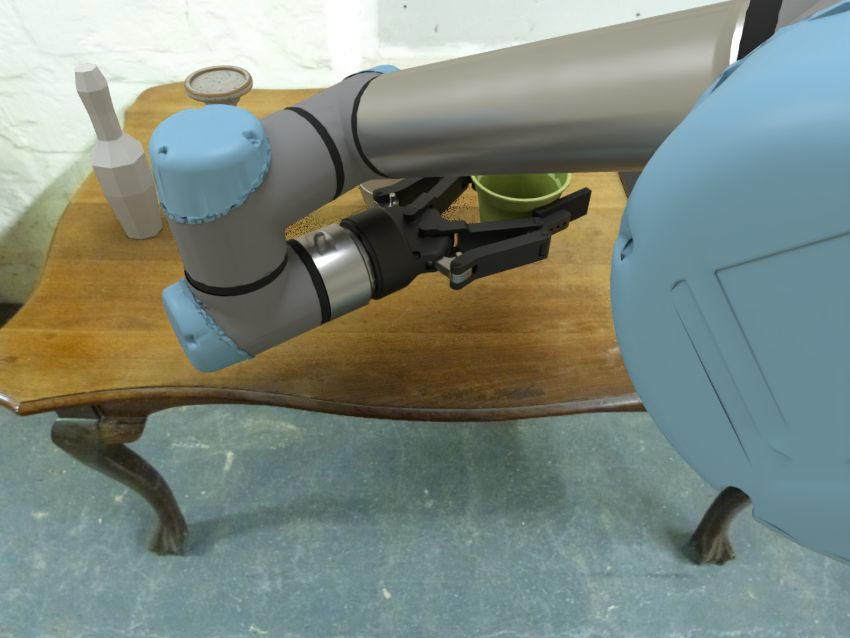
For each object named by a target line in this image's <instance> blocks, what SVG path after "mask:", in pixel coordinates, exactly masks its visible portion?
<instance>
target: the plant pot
mask: <svg viewBox="0 0 850 638" xmlns="http://www.w3.org/2000/svg"><path fill="white" fill-rule="evenodd" d="M572 174H573V173H553V174H518V175H483V176H471V179H472V181H473V182H474V184H475V188H476V191H475V192H476V193H477V200H478V201H477V202H478V212H479V223H481V222H491V221H501V220H511V219H521V218H530V217H532V215H533V210H534V209H536V208H539V207H541V206H544V205H547V204H549V203H552V202H553V201H555V200H557V199H559V198H562V194H563V193H564V192H565V191H566V190H567V189H568V187H569V186H570V184H571V181H572V176H573V175H572ZM528 232H529V231H528ZM527 234H528V233H527Z"/></svg>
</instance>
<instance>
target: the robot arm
mask: <svg viewBox="0 0 850 638" xmlns="http://www.w3.org/2000/svg"><path fill="white" fill-rule="evenodd" d="M147 147H148V152H147V153H148V157H149V158H148V159H149V162H150V171H151V174H152V177H153V180H154V184H155V190H156V194H157V200H158V202H159V205H160V208H161V210H162V212H163V213H164V216H165V219H166V221H167V223H168V227H169V229H170V231H171V234H172V237H173V240H174V243H175V245H176V248H177V251H178V253H179V256H180V259H181V262H182V264H183V271H184V272H183V274H184V277H180V279H179V280H178V281H177V282H174V283H172V284H170V285H168V286H166V287H165V288H164V289H163V291H162V293H161V301H162V303H163V307H164V311H165V314H166V316H167V318H168V321H169V323H170V325H171V328H172V330H173V332H174V334H175V337H176V338H177V340H178V342H179V344H180V346H181V348H182V350H183V352H184V354H185V356H186V357H187V359H188V361H189V362H190V364H191V365H192V366H193V367H194V368H195V370H197V371H199V372H201V373H204V374H205V373H206V374H210V373H214V372H217V371H221V370H222V369H226V368H228V367H231V366H233V365H236V364H240V363H242V362H244V361H251V360H253V359H255V357H256V356H258V355H260V354H261V353H262V354H263V353H264V352H267V351H268V350H271V349H272V348H275V347H277V346H280V345H281V344H284V343H286V342H288V341H290V340H292V339H294V338H297V337H299V336H301V335H303V334H305V333H308V332H310V331H312V330H314V329H316V328H318V327H320V326H322V325H325V324H327V323H329V322H332V321H334V320H336V319H339V318H341V317H343V316H345V315H348V314H351V313H352V312H355V311H357V310H359V309H362V308H363V307H366V306H368V305H369V304H370V303H371V300H373V301H379V300H381V299H384V298H386V297H388V296H390V295H393V294H395V293H397V292H398V291H402V290H404V289H406V288H407V287H409V286H410V285H411V283H412V282H413V281H414V280H415V279H416V278H417V277H418V276H420V275H423V274H430V273H432V274H433V273H436V272H437V273H438V272H439V273H441V274H442V275H443V276H445V277H446V278H448V279H449V288H450V289H452V290H454V291H460V290H462V289H463V288H465V287H467V286H468V285H469V284H471V283H473V282H474V281H476V280H479V279H483V278H486V277H489V276H492V275H497V274H500V273H503V272H507V271H511V270H514V269H516V268H520V267H524V266H527V265H531V264H534V263H537V262H541V261H544V260H546V259H548V258H549V254H550V249H551V242H552V236H554V235H556V234H559V233H560V232H563V231H564V230H566V229H568V227H569V226H570V223H572V222H574V221H576V220H577V219H580V218H583V217H584V216H587V215H588V211H589V207H590V201H591V198H592V193H593V190H592V189H590V188H589V187H587V186H585V187H583V188H579V189H578V190H575V191H574V192H573V191H572V192H570V193H568V194H566V195H564V196H561V197H560V198H559V199H557V200H555V201H553V202H552V203H549V204H547V205H544V206H541V207H539V208H536V209H534V210H533V215H532V217H530V218H521V219H511V220H501V221H491V222H481V223H480V222H472V223H467V222H466V220H464V219H457V220H449V219H447V218H446V217H443V216H442V215H443V214H444V213H445V212H446V211H447V210H448V209H449V208H450V207H451V206H452V205H453V204H454V203H455V202H456V201H457V200H458V199H459V198H460V197H461V196H462V195H463V194H464V192H466V191H467V190H468V189H469V187H470V184H471V187H470V188H471V189H472V190H473V191H474V192H477V191H476V188H475V184H474V182H473V181H472V179H471V176H483V175H518V174H553V173H571V174H581V173H583V174H585V173H618V172H624V171H642V173H641V175H640V176H639V178H638V180H637V182H636V184H635V186H634V188H633V190H632V192H631V194H630V196H629V198H627V200H626V205H625V207H624V210H623V212H622V215H621V218H620V224H619V231H618V235H617V237H616V239H615V242H614V244H613V249H612V255H611V263H610V276H609V295H610V308H611V316H612V322H613V327H614V333H615V338H616V342H617V345H618V348H619V352H620V355H621V358H622V361H623V364H624V366H625V369H626V371H627V374H628V376H629V379H630V381H631V384H632V387H633V388H634V390H635V392H636V394H637V396H638V398H639V400H640V402H641V403H642V405H643V407H644V409H645V410H646V412H647V414H648V415H649V416H650V418H651V420H652V421H653V423H654V424H655V426H656V427H657V429H658V430H659V432H660V433H661V434H662V435H663V437H664V438H665V440H666V441H667V442H668V444H669V445H670V446H671V447H672V449H673V450H674V451H675V452H676V453H677V454H678V455H679V457H680V458H681V459H682V460H683V461H684V462H685V463H686V464H687V465H688V467H690V469H692V471H694V472H695V474H697V475H698V476H699V477H700V478H701V479H702V480H703V481H704V482H705V483H706V484H707V485H708V486H710V487H711V488H712V489H713V490H714V491H717V492H718V491H719V492H721V491H725V490H726V489H727V488H729V487H733V488H736V489H739V490H741V491H742V492H743V493H744V494H746V495H747V496H748V497H749V500H750V502H751V503H752V509H751V516H752V519H753V520H754V521H755V522H757V523H758V524H760V525H762V526H764V527H765V528H767V529H769V530H770V531H772V532H774V533H775V534H776V535H779V536H780V537H782V538H784V539H786V540H788V541H790V542H793V543H794V544H796V545H798V546H800V547H802V548H804V549H808V550H809V551H812V552H813V553H817V554H819V555H821V556H824V557H826V558H828V559H831V560H833V561H835V562H838V563H839V564H840V563H841V564H842V565H845V566H848V567H850V0H725V1H719V2H715V3H711V4H705V5H702V6H697V7H692V8H687V9H683V10H677V11H673V12H667V13H663V14H658V15H654V16H650V17H644V18H639V19H635V20H630V21H626V22H621V23H615V24H612V25H611V24H610V25H607V26H601V27H597V28H592V29H588V30H583V31H578V32H574V33H569V34H563V35H559V36H555V37H549V38H545V39H539V40H535V41H530V42H526V43H521V44H517V45H513V46H512V45H511V46H507V47H503V48H502V47H501V48H498V49H494V50H489V51H484V52H478V53H474V54H470V55H465V56H460V57H455V58H449V59H446V60H441V61H436V62H433V63H427V64H422V65H417V66H412V67H408V68H402V69H400V68H398V67H396V66H395V65H392V64H379V65H376V66H374V67H371V68H367V69H363V70H359V71H357V72H353V73H351V74H349V75H346V77H344V78H343V79H342V80H341V81H339V82H337V83H335V84H333V85H330V86H329V87H327V88H324V89H322V90H320V91H319V92H317V93H314V94H312V95H311V96H309V97H307V98H304V99H302V100H300V101H298V102H297V103H294V104H292V105H290V106H287V107H285V108H282V109H279V110H277V111H274V112H272V113H270V114H268V115H265V116H264V117H261V118H260V119H259V118H258V117H257V115H256V114H254V113H252V112H251V111H249V110H248V109H245V108H243V107H240V106H237V105H236V106H231V105H225V104H211V105H206V104H205V106H203V107H200V108H192V107H190V108H186V109H182V110H180V111H177V112H175V113H173V114H172V115H170V116H168V117H166V118H165V119H163V121H161V122H160V123H159V124H158V125H157V127H155V129H154V130H153V131H152V134H151V135H150V138H149V142H148V146H147ZM401 178H404V179H402V180H401V181H399V182H397V183H395V184H393V185H390V186H386V187H382V188H378V189H375V190H374V191H373V192H372V193H373V207H372V208H367V209H364V210H361V211H359V212H356V213H354V214H350V215H349V216H347V217H344V218H342V219H341V220H340V222H339V224H337V223H335V222H333V223H330V224H328V225H325V226H322V227H320V228H317V229H315V230H312V231H310V232H307V233H305V234H301V235H299V236H297V237H295V238H290V239H286V238H287V237H286V231H285V230H287V228H289V227H291V226H292V225H293V224H296V223H298V222H299V221H300V220H303V219H304V218H306V217H308V216H309V215H311V214H313V213H314V212H316V211H318V210H319V209H321V208H322V207H325V206H326V205H328V204H330V203H332V202H333V201H335V200H336V199H339V198H340V197H341V196H343V195H345V194H346V193H349V192H351V190H353V189H355V188H357V187H359V185H360V184H362V183H364V182H366V181H370V180H376V179H401ZM528 231H529V232H528ZM527 233H528V234H527ZM456 234H457V237H456ZM455 237H456V238H455ZM455 239H456V241H455ZM455 242H456V245H455Z"/></svg>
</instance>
